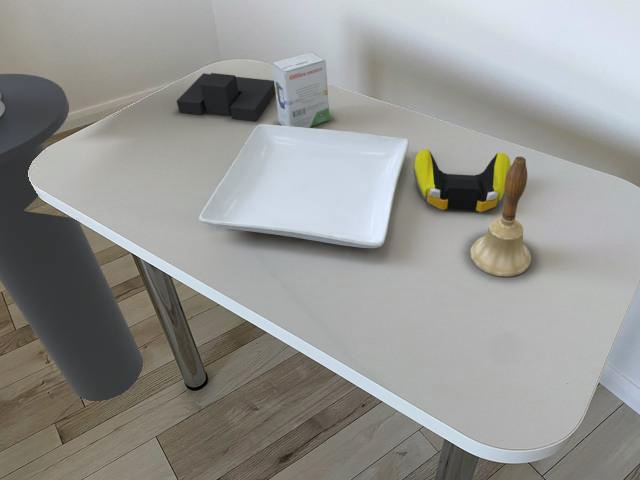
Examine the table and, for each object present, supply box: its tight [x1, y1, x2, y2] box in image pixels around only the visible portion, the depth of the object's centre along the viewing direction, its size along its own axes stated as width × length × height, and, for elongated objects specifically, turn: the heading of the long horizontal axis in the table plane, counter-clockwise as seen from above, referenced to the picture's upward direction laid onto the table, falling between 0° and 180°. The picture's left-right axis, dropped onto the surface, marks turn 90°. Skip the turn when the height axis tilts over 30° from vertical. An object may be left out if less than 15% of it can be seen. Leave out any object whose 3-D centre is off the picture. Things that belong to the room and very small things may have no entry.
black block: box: [201, 72, 239, 117], centre depth 107 cm, size 5×5×6 cm
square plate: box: [198, 123, 410, 249], centre depth 87 cm, size 27×27×4 cm
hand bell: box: [469, 156, 532, 278], centre depth 72 cm, size 8×8×16 cm
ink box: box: [271, 52, 330, 128], centre depth 100 cm, size 9×5×12 cm, turn 123°
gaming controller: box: [413, 148, 512, 213], centre depth 86 cm, size 15×6×10 cm
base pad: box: [176, 72, 276, 122], centre depth 110 cm, size 16×12×2 cm
